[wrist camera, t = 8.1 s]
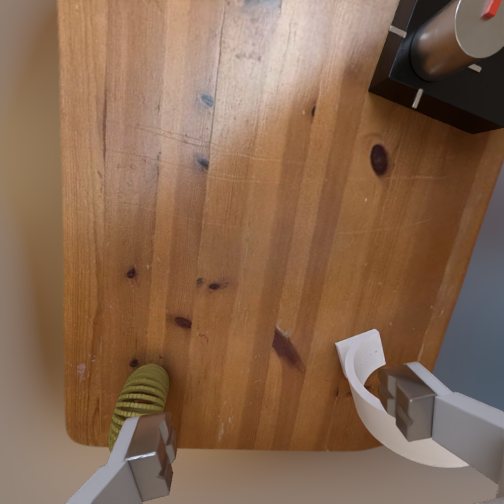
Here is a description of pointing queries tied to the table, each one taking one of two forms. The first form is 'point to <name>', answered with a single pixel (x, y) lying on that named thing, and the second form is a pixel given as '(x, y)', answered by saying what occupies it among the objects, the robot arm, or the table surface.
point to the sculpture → (140, 397)
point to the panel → (443, 91)
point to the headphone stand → (371, 410)
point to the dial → (457, 38)
